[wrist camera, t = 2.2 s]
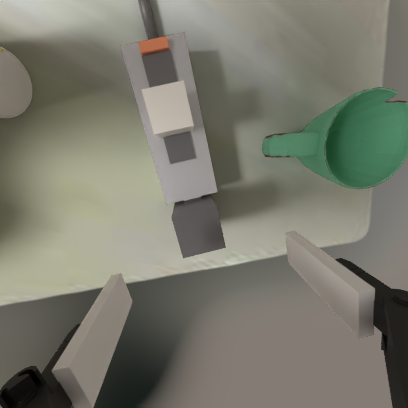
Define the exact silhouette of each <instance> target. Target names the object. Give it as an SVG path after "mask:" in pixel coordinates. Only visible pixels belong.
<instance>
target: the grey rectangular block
mask: <svg viewBox="0 0 408 408" xmlns="http://www.w3.org/2000/svg"><path fill="white" fill-rule="evenodd" d="M172 221H173V224H174V228H175V231H176V235H177V238H178V242H179V245H180V249H181V252H182V255H183V258H186V257H190V256H194V255H198V254H202V253H206V252H210V251H214V250H218V249H222V248H226V247H225V242H224V237H223V233H222V228H221V223H220V219H219V214H218V209H217V206H216V204H215V203H214V201H213V199H212V198H211V196H210V194H207V195H203V196H199V197H195V198H191V199H186V200H182V201H178V202H175V205H174V210H173V214H172Z"/></svg>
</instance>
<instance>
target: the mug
mask: <svg viewBox="0 0 408 408" xmlns="http://www.w3.org/2000/svg"><path fill="white" fill-rule="evenodd" d="M397 93H398V92H396V91H395V90H393V89H387V88H381V87H378V88H373V89H369V90H364V91H361V92H358V93H356V94H354V95H352V96H351V97H349V98H347V99H346V100H344V101H342V102H341V103H339V104H337V105H336V106H334V107H332V108H331V109H329V110H328V111H326V112H324V113H323V114H321V115H320V116H318V117H317V118H316V119H314V120H313V121H312V122H311V123H310V124H308V125H307V126H306V127H305V129H304V130H303V131H302V132H301V133H283V134H273V135H270V136H267V137H265V139H264V141H263V145H262V150H263V153H264V156H265V157H296V156H297V158H298V159H299V160H300V161H301V162H302V163H303V164H304V165H305V166H306V167H308V168H309V169H310V170H312V171H313V172H315V173H317V174H319V175H321V176H323V177H325V178H326V179H328V180H331V181H333V182H335V183H337V184H339V185H341V186H343V187H347V188H356V189H365V188H369V187H373V186H376V185H378V184H380V183H382V182H383V181H385V180H387V179H389V177H390V176H392V175H393V174H394V173H395V172H396V171H397V170H398V169H399V168H400V167H401V165H402V164H403V162H404V161H405V159H406V157H407V156H408V102H406V101H394V102H389V101H387V100H388V99H390V98H392V97H394V96H395V95H396V94H397Z"/></svg>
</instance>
